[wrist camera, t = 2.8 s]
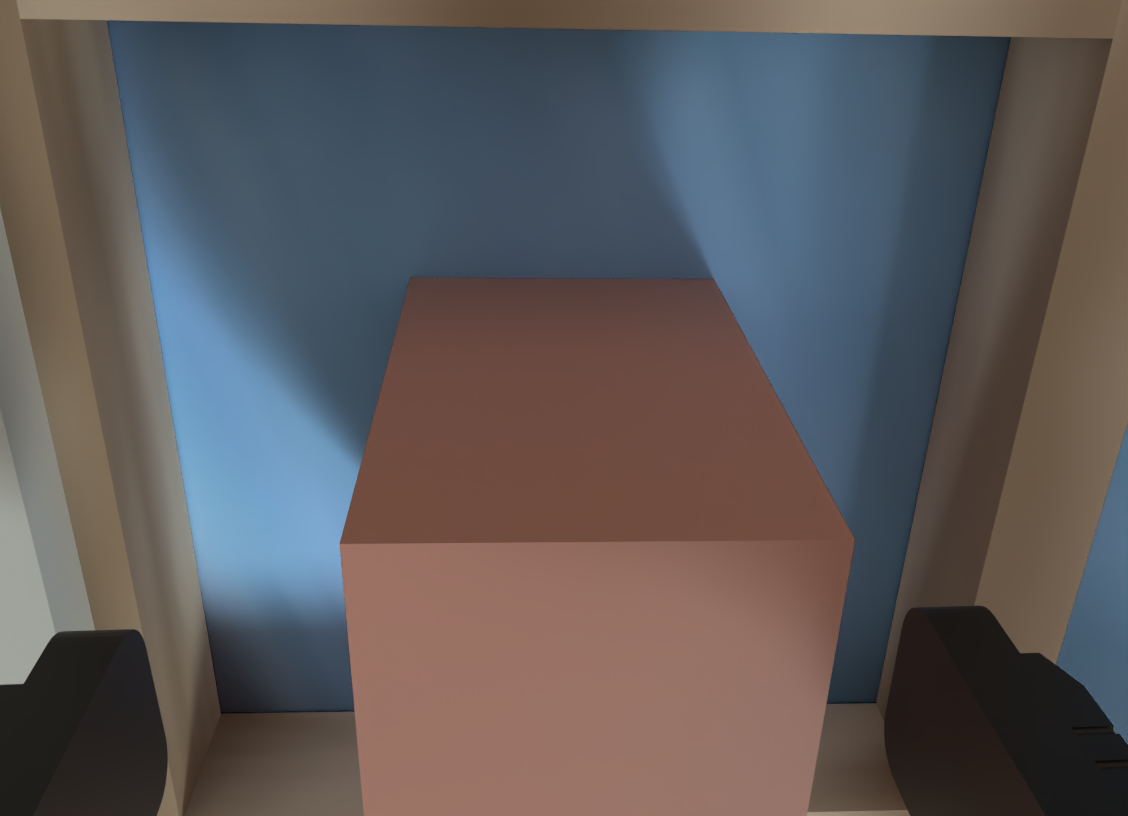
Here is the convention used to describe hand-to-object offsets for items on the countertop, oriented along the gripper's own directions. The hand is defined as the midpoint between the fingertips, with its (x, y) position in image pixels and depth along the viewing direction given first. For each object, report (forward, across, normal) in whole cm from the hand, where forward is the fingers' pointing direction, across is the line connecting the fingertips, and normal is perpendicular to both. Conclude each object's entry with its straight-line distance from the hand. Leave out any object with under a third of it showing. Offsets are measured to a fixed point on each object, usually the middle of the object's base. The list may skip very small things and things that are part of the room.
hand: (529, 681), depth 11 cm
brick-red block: (+6, -1, 0) cm, 6 cm away
